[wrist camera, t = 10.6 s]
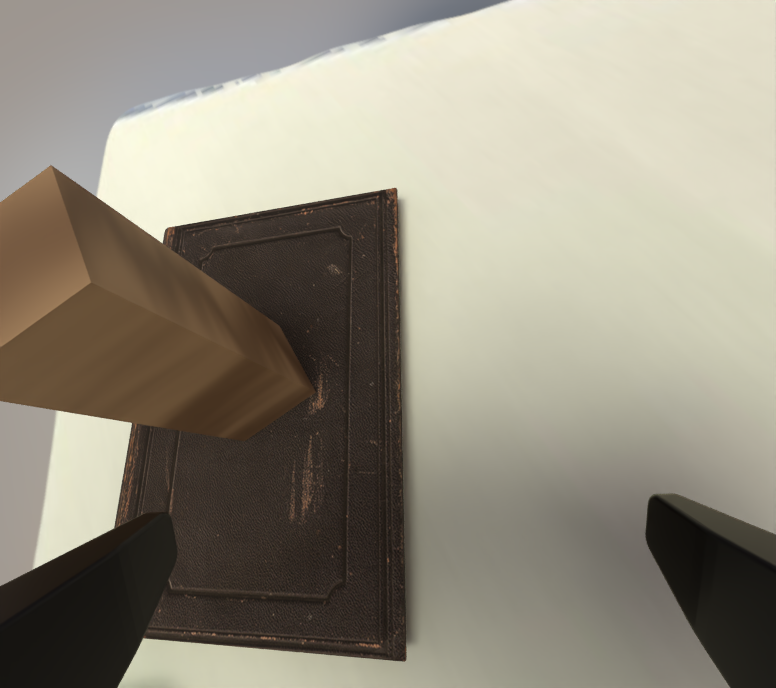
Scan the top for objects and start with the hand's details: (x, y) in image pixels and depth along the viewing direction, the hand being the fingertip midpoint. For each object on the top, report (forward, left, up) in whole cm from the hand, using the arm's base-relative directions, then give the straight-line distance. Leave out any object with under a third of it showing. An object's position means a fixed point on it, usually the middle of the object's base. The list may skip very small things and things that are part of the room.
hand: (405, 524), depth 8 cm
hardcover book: (+6, +10, -14) cm, 18 cm away
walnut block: (+7, +10, -12) cm, 16 cm away
